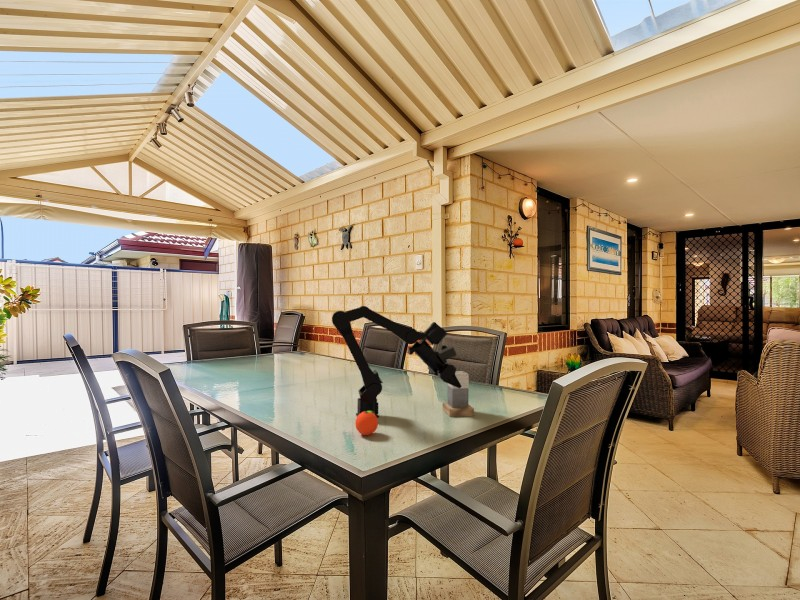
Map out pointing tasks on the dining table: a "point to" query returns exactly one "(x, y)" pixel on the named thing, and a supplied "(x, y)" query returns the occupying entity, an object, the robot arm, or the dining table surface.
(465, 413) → the stand
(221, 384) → the dining table surface
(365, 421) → the clementine
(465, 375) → the block
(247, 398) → the dining table surface
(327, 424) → the dining table surface
